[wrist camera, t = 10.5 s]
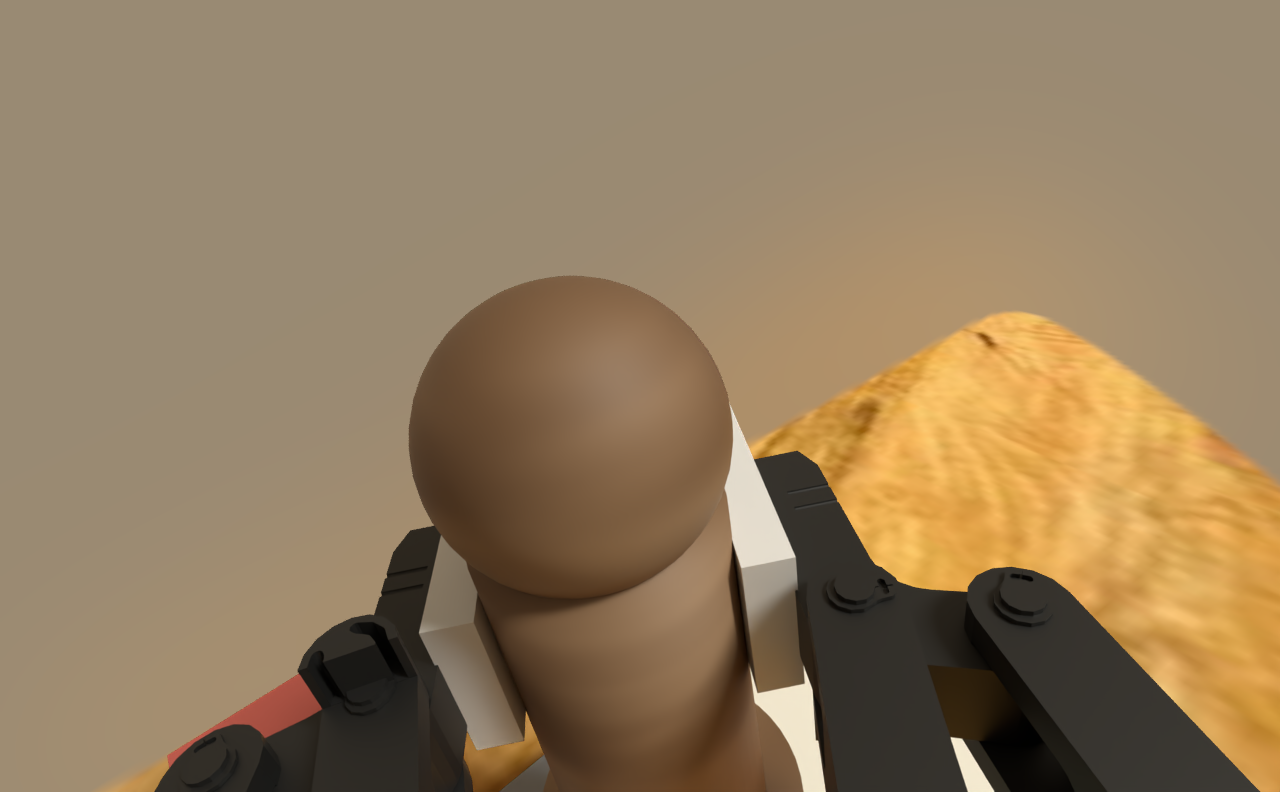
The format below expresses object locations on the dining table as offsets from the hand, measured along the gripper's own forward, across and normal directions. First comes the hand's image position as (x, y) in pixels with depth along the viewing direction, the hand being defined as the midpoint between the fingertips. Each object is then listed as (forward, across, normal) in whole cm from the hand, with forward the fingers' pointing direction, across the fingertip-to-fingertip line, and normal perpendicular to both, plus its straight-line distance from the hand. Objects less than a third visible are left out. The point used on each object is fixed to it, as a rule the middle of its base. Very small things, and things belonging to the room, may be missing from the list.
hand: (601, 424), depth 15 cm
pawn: (-5, 0, -6) cm, 8 cm away
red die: (-1, -11, -12) cm, 16 cm away
